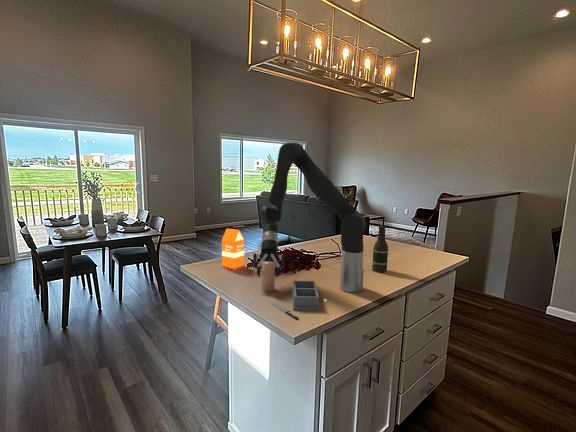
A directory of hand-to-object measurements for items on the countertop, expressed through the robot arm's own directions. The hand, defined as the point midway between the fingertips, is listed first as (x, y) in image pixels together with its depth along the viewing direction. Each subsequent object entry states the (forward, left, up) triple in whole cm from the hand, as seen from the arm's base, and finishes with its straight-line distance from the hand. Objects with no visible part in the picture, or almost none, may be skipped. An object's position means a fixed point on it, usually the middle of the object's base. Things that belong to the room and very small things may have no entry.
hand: (268, 276), depth 130 cm
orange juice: (+20, -34, -7) cm, 40 cm away
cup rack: (-15, +8, -6) cm, 18 cm away
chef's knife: (-7, +18, -7) cm, 20 cm away
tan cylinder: (0, -2, -6) cm, 6 cm away
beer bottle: (-57, -30, -6) cm, 65 cm away
